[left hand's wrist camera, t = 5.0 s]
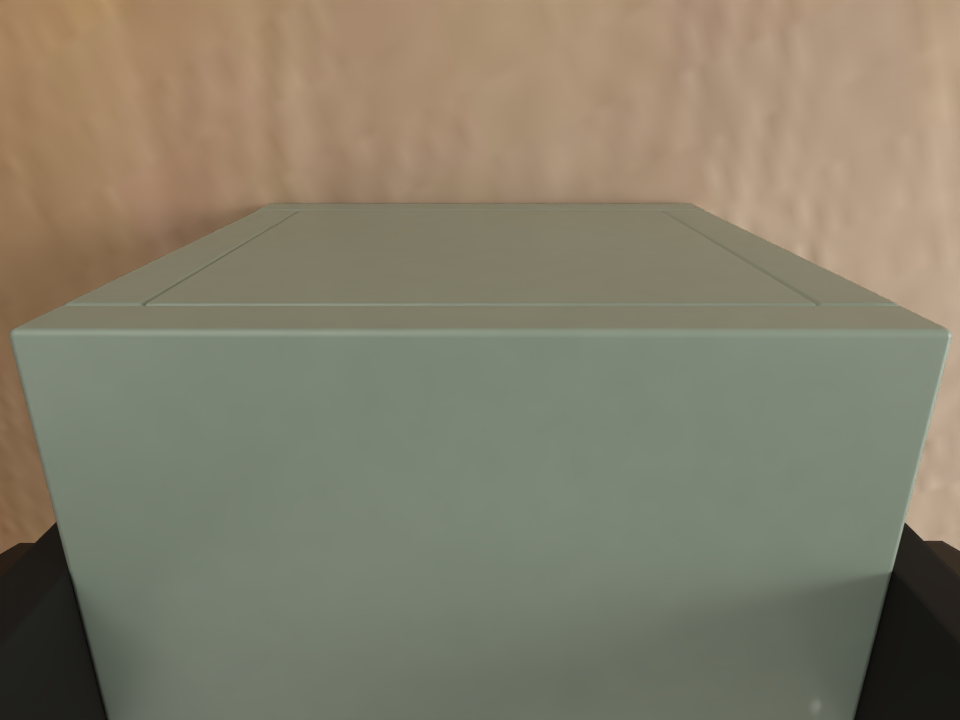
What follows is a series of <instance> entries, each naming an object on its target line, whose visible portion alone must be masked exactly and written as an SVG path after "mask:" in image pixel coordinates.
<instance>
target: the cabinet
mask: <svg viewBox="0 0 960 720" xmlns="http://www.w3.org/2000/svg"><path fill="white" fill-rule="evenodd" d="M9 338H10V342H11V346H12V349H13V353H14V357H15V361H16V365H17V369H18V373H19V377H20V381H21V385H22V389H23V392H24V396H25V400H26V404H27V408H28V412H29V416H30V420H31V424H32V428H33V432H34V436H35V439H36V443H37V447H38V451H39V455H40V459H41V463H42V467H43V471H44V475H45V479H46V482H47V486H48V490H49V494H50V498H51V502H52V506H53V510H54V514H55V518H56V522H57V525H58V529H59V533H60V537H61V541H62V545H63V549H64V553H65V557H66V561H67V565H68V569H69V572H70V576H71V580H72V584H73V588H74V592H75V596H76V600H77V604H78V608H79V612H80V615H81V619H82V623H83V627H84V631H85V635H86V639H87V643H88V647H89V651H90V655H91V658H92V662H93V666H94V670H95V674H96V678H97V682H98V686H99V690H100V694H101V698H102V702H103V705H104V709H105V713H106V717H107V720H854V718H855V714H856V711H857V707H858V703H859V699H860V695H861V691H862V687H863V683H864V679H865V675H866V671H867V668H868V664H869V660H870V656H871V652H872V648H873V644H874V640H875V636H876V632H877V629H878V625H879V621H880V617H881V613H882V609H883V605H884V601H885V597H886V593H887V589H888V586H889V582H890V578H891V574H892V570H893V566H894V562H895V558H896V554H897V550H898V547H899V543H900V539H901V535H902V531H903V527H904V523H905V519H906V515H907V511H908V507H909V504H910V500H911V496H912V492H913V488H914V484H915V480H916V476H917V472H918V468H919V465H920V461H921V457H922V453H923V449H924V445H925V441H926V437H927V433H928V429H929V425H930V422H931V418H932V414H933V410H934V406H935V402H936V398H937V394H938V390H939V386H940V383H941V379H942V375H943V371H944V367H945V363H946V359H947V355H948V351H949V347H950V343H951V340H952V334H951V331H950V330H949V329H947V328H945V327H943V326H941V325H939V324H937V323H934V322H932V321H930V320H928V319H926V318H924V317H922V316H920V315H918V314H916V313H914V312H912V311H910V310H908V309H906V308H903V307H901V306H898V304H897V303H895V302H893V301H891V300H888V299H886V298H884V297H882V296H880V295H878V294H876V293H874V292H872V291H870V290H868V289H866V288H864V287H862V286H860V285H857V284H855V283H853V282H851V281H849V280H847V279H845V278H843V277H841V276H839V275H837V274H835V273H833V272H831V271H829V270H826V269H824V268H822V267H820V266H818V265H816V264H814V263H812V262H810V261H808V260H806V259H804V258H802V257H800V256H798V255H795V254H793V253H791V252H789V251H787V250H785V249H783V248H781V247H779V246H777V245H775V244H773V243H771V242H769V241H767V240H764V239H762V238H760V237H758V236H756V235H754V234H752V233H750V232H748V231H746V230H744V229H742V228H740V227H738V226H736V225H733V224H731V223H729V222H727V221H725V220H723V219H721V218H719V217H717V216H715V215H713V214H711V213H709V212H707V211H704V209H701V208H699V207H697V206H695V205H693V204H268V205H266V206H264V207H262V208H260V209H258V210H257V211H256V212H253V213H251V214H249V215H247V216H245V217H243V218H241V219H239V220H237V221H235V222H233V223H231V224H229V225H227V226H225V227H222V228H220V229H218V230H216V231H214V232H212V233H210V234H208V235H206V236H204V237H202V238H200V239H198V240H196V241H194V242H191V243H189V244H187V245H185V246H183V247H181V248H179V249H177V250H175V251H173V252H171V253H169V254H167V255H165V256H163V257H160V258H158V259H156V260H154V261H152V262H150V263H148V264H146V265H144V266H142V267H140V268H138V269H136V270H134V271H132V272H129V273H127V274H125V275H123V276H121V277H119V278H117V279H115V280H113V281H111V282H109V283H107V284H105V285H103V286H100V287H98V288H96V289H94V290H92V291H90V292H88V293H86V294H84V295H82V296H80V297H78V298H76V299H74V300H72V301H69V302H67V303H65V305H64V306H60V307H57V308H55V309H53V310H51V311H49V312H47V313H45V314H43V315H41V316H39V317H37V318H35V319H33V320H30V321H28V322H26V323H24V324H22V325H20V326H18V327H16V328H14V329H12V330H11V331H10V336H9Z"/></svg>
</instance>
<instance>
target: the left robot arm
mask: <svg viewBox="0 0 960 720" xmlns="http://www.w3.org/2000/svg"><path fill="white" fill-rule="evenodd" d="M0 720H107V717H106V713H105V709H104V705H103V702H102V698H101V694H100V690H99V686H98V682H97V678H96V674H95V670H94V666H93V662H92V658H91V655H90V651H89V647H88V643H87V639H86V635H85V631H84V627H83V623H82V619H81V615H80V612H79V608H78V604H77V600H76V596H75V592H74V588H73V584H72V580H71V576H70V572H69V569H68V565H67V561H66V557H65V553H64V549H63V545H62V541H61V537H60V533H59V529H58V525H57V522H56V523H55V524H54V525H53V526H52V527H51V528H50V529H49V530H48V531H47V532H46V533H45V534H44V535H43V536H42V537H41V538H40V539H39V540H38V541H37V542H36V543H19V544H17V545H15V546H14V547H12V548H10V549H8V550H7V551H5V552H3V553H2V554H0ZM854 720H960V551H959V550H957V549H955V548H953V547H952V546H950V545H948V544H947V543H945V542H943V541H923V540H922V539H921V538H920V537H919V536H918V535H917V534H916V533H915V532H914V531H913V530H912V529H911V528H910V527H909V526H908V525H907V524H906V523H904V527H903V531H902V535H901V539H900V543H899V547H898V550H897V554H896V558H895V562H894V566H893V570H892V574H891V578H890V582H889V586H888V589H887V593H886V597H885V601H884V605H883V609H882V613H881V617H880V621H879V625H878V629H877V632H876V636H875V640H874V644H873V648H872V652H871V656H870V660H869V664H868V668H867V671H866V675H865V679H864V683H863V687H862V691H861V695H860V699H859V703H858V707H857V711H856V714H855V718H854Z"/></svg>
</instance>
